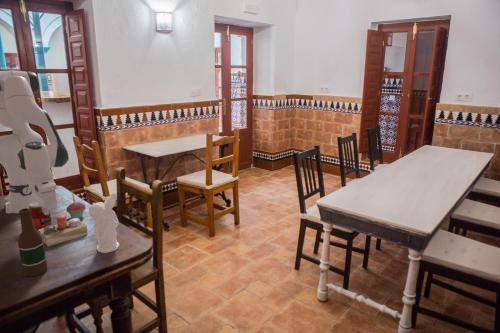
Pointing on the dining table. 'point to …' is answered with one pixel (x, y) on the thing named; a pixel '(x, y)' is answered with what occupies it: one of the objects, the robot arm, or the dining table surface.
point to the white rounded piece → (74, 222)
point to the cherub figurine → (105, 224)
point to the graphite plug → (49, 229)
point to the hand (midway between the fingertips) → (46, 213)
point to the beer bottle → (31, 246)
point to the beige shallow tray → (63, 234)
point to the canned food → (39, 216)
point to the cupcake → (76, 209)
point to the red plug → (61, 222)
